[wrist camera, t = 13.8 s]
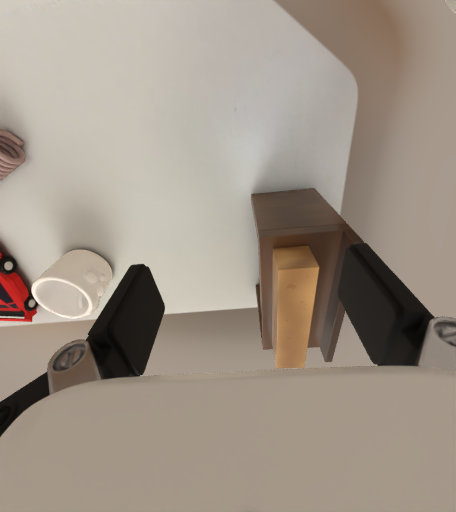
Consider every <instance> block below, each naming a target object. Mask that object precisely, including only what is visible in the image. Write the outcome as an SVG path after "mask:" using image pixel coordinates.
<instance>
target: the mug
mask: <svg viewBox="0 0 456 512" xmlns="http://www.w3.org/2000/svg"><path fill="white" fill-rule="evenodd" d="M112 276H113V274H112V270H111V267H110V266H109V264H108V263H107V262H106V261H105V260H104V259H103V258H102V257H101V256H99V255H97V254H96V253H93V252H91V251H87V250H72V251H69V252H67V253H66V254H64V255H63V256H62V257H61V258H60V259H59V260H58V261H56V262H55V263H54V264H53V265H52V266H51V267H50V268H49V269H48V270H46V271H45V272H44V273H43V274H42V275H41V276H40V277H39V278H38V279H37V280H36V281H35V282H34V283H33V285H32V288H31V291H32V295H33V297H34V299H35V300H36V301H37V302H38V303H39V304H40V305H41V306H42V307H43V308H45V309H46V310H48V311H49V312H51V313H53V314H56V315H59V316H62V317H66V318H81V317H84V316H86V315H88V314H92V313H94V312H95V311H96V310H97V308H98V306H99V299H100V298H101V296H102V295H103V294H104V293H105V290H106V289H107V287H108V286H109V284H110V282H111V280H112Z"/></svg>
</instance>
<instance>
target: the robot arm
mask: <svg viewBox="0 0 456 512" xmlns="http://www.w3.org/2000/svg"><path fill="white" fill-rule="evenodd" d="M338 297H339V299H340V301H341V303H342V305H343V307H344V309H345V311H346V313H347V315H348V317H349V319H350V321H351V323H352V324H353V326H354V328H355V330H356V332H357V333H358V336H359V338H360V340H361V342H362V343H363V346H364V347H365V349H366V351H367V353H368V355H369V357H370V359H371V361H372V362H373V363H374V364H377V365H378V366H356V367H330V368H305V369H304V368H303V369H281V370H257V371H235V372H213V373H193V374H174V375H154V376H140V375H142V374H143V373H144V371H145V368H146V365H147V362H148V359H149V356H150V353H151V350H152V347H153V344H154V341H155V338H156V335H157V332H158V329H159V326H160V323H161V320H162V317H163V314H164V311H165V305H164V302H163V300H162V298H161V295H160V293H159V290H158V288H157V286H156V283H155V281H154V278H153V276H152V273H151V271H150V269H149V267H146V266H145V265H144V264H137V265H131V266H130V267H129V269H128V271H127V272H126V274H125V275H124V277H123V279H122V280H121V282H120V283H119V285H118V287H117V288H116V290H115V291H114V293H113V295H112V296H111V298H110V299H109V301H108V302H107V304H106V306H105V307H104V309H103V310H102V312H101V314H100V315H99V317H98V318H97V320H96V322H95V323H94V325H93V326H92V328H91V330H90V331H89V333H88V335H89V336H88V338H87V339H86V340H75V341H72V342H70V343H68V344H66V345H64V346H63V347H61V348H60V349H59V350H58V351H57V352H56V353H55V354H54V355H53V356H52V358H51V359H50V361H49V363H48V369H47V372H46V373H44V374H43V375H41V376H40V377H38V378H37V379H35V380H34V381H32V382H30V383H29V384H27V385H26V386H24V387H23V388H21V389H20V390H18V391H17V392H15V393H13V394H12V395H10V396H9V397H7V398H6V399H4V400H3V401H1V402H0V512H456V319H455V318H452V317H443V316H442V317H436V318H435V317H434V316H433V315H432V314H431V313H430V312H429V311H428V310H427V309H426V308H425V307H424V305H423V304H422V303H421V302H420V301H419V300H418V299H417V298H416V297H415V296H414V294H413V293H412V292H411V291H410V290H409V289H408V288H407V287H406V286H405V285H404V284H403V282H402V281H401V280H400V279H399V278H398V277H397V276H396V275H395V274H394V273H393V272H392V271H391V270H390V269H389V268H388V266H387V265H386V264H385V263H384V262H383V261H382V260H381V259H380V258H379V256H378V255H377V254H376V253H375V252H374V251H373V250H372V249H371V248H370V247H369V245H368V244H366V243H357V244H351V245H350V247H349V248H346V250H345V255H344V261H343V266H342V271H341V276H340V282H339V287H338Z"/></svg>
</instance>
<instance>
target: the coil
mask: <svg viewBox="0 0 456 512" xmlns="http://www.w3.org/2000/svg"><path fill="white" fill-rule="evenodd" d="M23 144H24V143H23V142H22V141H21V140H20V139H19V138H17V137H16V136H15V135H13V134H11V133H9V132H7V131H4V130H1V129H0V181H1V180H2V179H3V178H4V177H6V176H7V175H8V174H10V173H11V172H12V171H13V170H15V169H16V168H17V167H18V166H20V164H22V163H24V162H25V158H26V157H25V154H24V152H23V150H22V149H21V148H20V147H19V146H21V145H23Z"/></svg>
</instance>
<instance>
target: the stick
mask: <svg viewBox="0 0 456 512" xmlns="http://www.w3.org/2000/svg"><path fill="white" fill-rule="evenodd" d="M318 273H319V266H318V264H317V262H316V260H315V258H314V256H313V254H312V252H311V250H310V248H309V246H299V247H286V248H274V249H273V275H272V346H273V352H274V359H275V365H276V368H301V367H304V366H305V360H306V352H307V346H308V340H309V333H310V326H311V319H312V313H313V306H314V299H315V293H316V286H317V279H318Z"/></svg>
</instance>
